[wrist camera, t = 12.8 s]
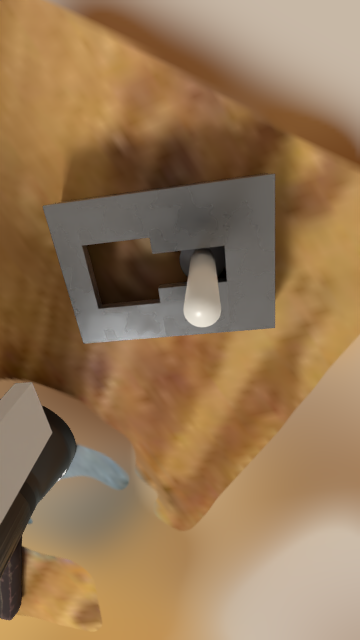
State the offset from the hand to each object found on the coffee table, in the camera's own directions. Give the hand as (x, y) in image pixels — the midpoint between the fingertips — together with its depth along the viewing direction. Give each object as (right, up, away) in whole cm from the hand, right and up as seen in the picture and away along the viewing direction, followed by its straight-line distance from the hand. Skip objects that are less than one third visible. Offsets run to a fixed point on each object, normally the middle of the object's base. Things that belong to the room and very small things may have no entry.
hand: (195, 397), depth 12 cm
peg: (+2, +10, +20) cm, 22 cm away
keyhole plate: (-2, +9, +20) cm, 23 cm away
